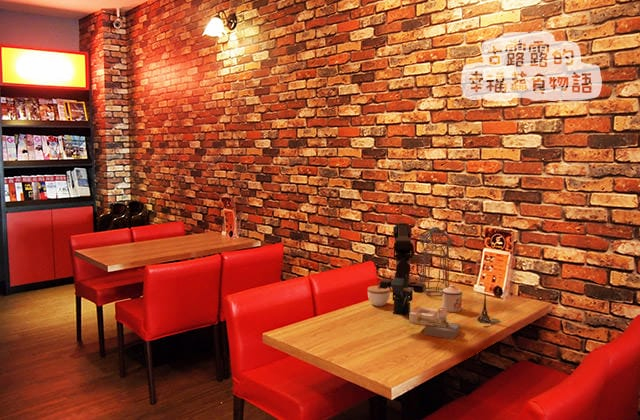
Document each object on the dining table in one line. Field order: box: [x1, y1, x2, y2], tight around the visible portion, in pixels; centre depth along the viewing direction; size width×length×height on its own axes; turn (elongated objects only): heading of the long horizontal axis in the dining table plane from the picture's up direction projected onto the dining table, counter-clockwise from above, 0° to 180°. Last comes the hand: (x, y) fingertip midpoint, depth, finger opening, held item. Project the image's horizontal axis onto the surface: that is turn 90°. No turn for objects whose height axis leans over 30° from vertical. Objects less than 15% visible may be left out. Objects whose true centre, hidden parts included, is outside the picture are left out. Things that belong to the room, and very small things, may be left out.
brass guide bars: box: [412, 313, 449, 327], centre depth 222 cm, size 14×6×3 cm, turn 64°
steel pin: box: [437, 307, 448, 328], centre depth 220 cm, size 3×3×10 cm
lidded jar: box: [367, 284, 391, 307], centre depth 260 cm, size 11×11×9 cm
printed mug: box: [441, 284, 463, 313], centre depth 252 cm, size 12×9×12 cm
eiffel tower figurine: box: [476, 294, 501, 329], centre depth 234 cm, size 15×10×13 cm
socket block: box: [424, 321, 461, 340], centre depth 221 cm, size 12×10×3 cm
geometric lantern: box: [417, 226, 455, 297], centre depth 275 cm, size 16×16×35 cm
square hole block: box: [408, 306, 439, 324], centre depth 236 cm, size 10×10×4 cm
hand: (402, 305), depth 227 cm, fingers closed
